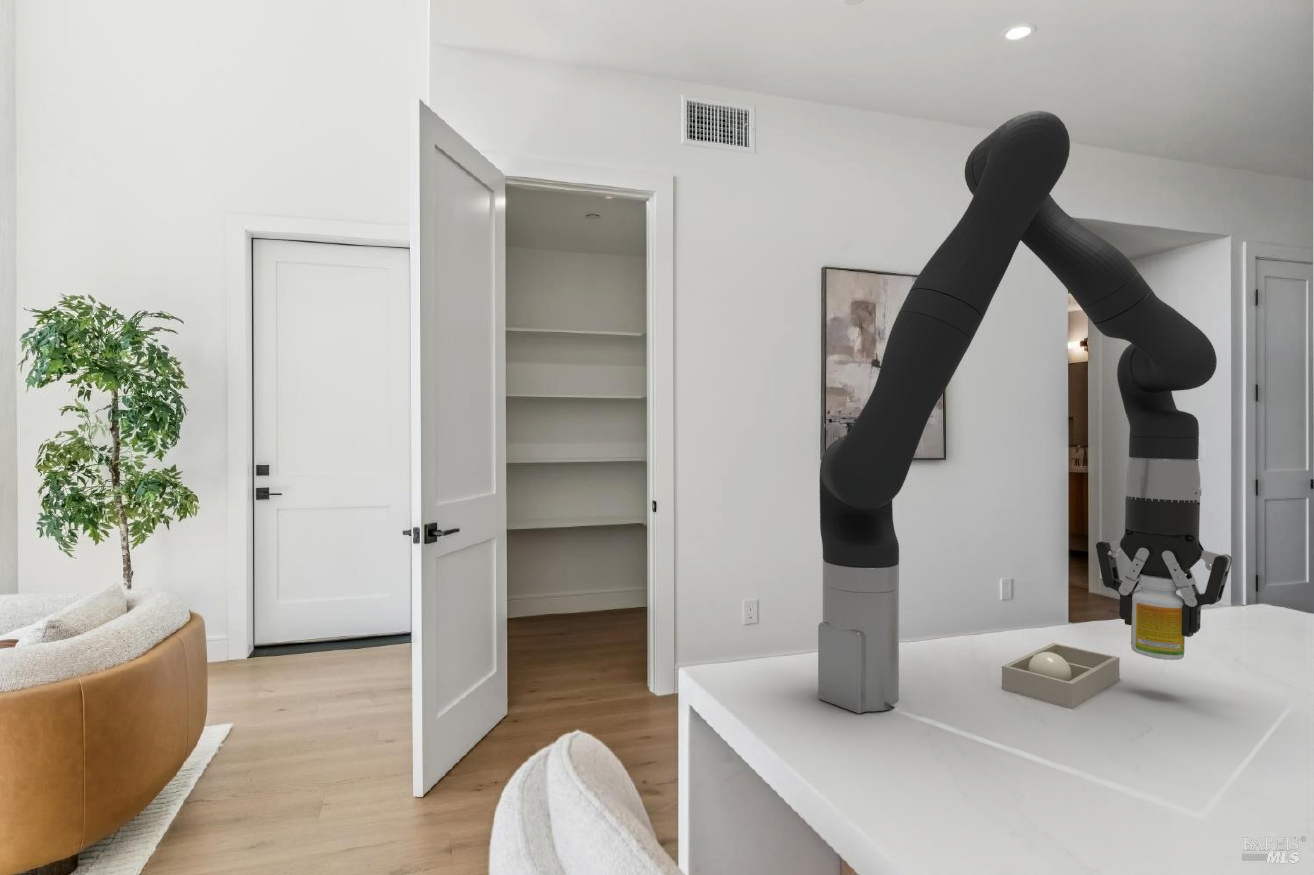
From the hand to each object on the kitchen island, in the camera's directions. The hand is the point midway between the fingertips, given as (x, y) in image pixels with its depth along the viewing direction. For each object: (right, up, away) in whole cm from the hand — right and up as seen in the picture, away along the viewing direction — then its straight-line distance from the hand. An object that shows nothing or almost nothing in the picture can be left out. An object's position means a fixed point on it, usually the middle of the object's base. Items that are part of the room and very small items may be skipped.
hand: (1158, 629), depth 86 cm
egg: (-13, -8, +1) cm, 15 cm away
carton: (-10, -9, +4) cm, 14 cm away
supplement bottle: (0, -3, 0) cm, 3 cm away
